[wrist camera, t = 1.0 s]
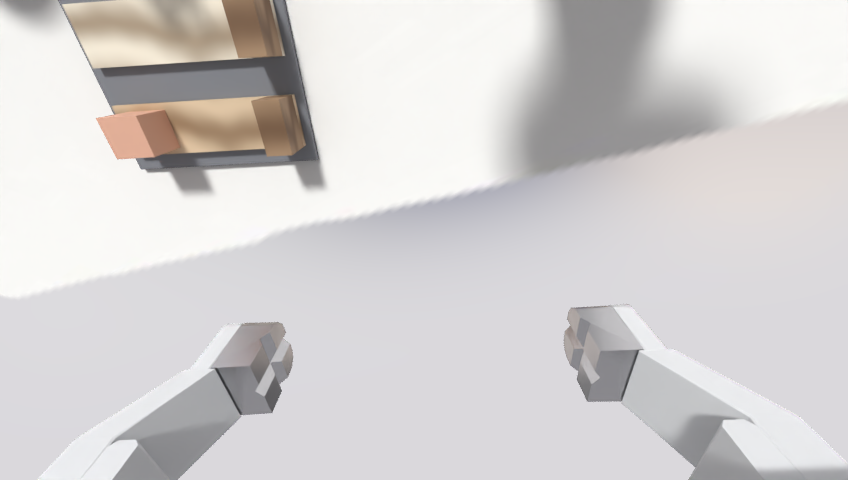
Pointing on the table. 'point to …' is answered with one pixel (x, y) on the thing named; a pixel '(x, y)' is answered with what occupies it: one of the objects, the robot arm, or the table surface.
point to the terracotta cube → (139, 134)
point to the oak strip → (232, 124)
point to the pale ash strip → (174, 31)
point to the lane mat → (212, 93)
